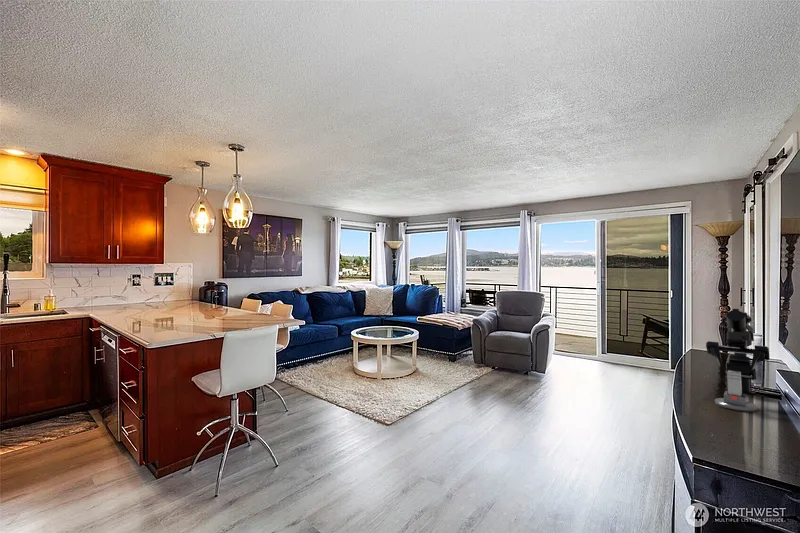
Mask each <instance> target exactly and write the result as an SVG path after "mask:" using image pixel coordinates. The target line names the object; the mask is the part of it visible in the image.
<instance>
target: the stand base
mask: <svg viewBox="0 0 800 533" xmlns="http://www.w3.org/2000/svg"><path fill="white" fill-rule="evenodd" d="M747 395H748V394H742V397H739V396H733V395H728V390H725V391H724V393H723V397H718V398H715V399H714V403H715V404H714V405H716V406H718V407H721V408H723V409H725V410H726V409H727V410H731V411H736V412H743V413H744V412H745V413H754V412H755V413H756V412H758V411H759V408H758V405H756V404H755V403H752V402H749V401H748V396H747Z"/></svg>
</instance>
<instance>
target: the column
mask: <svg viewBox="0 0 800 533" xmlns="http://www.w3.org/2000/svg"><path fill="white" fill-rule="evenodd" d="M726 376H727V378H726V379H727V391H728V395H733V396H739V397H742V385H741V372H737V371H729V370H728V372H727V371H726Z"/></svg>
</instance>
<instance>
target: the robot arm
mask: <svg viewBox="0 0 800 533" xmlns="http://www.w3.org/2000/svg"><path fill="white" fill-rule="evenodd" d="M724 321H725V323H726V324H727V327H728V328H727V329H728V331H727V332H726V345H720V342H719V341H706V342H705V348H706V352H707V354H708V355H711V356H714V357H715V359H716V360H717V362H718V365H719V367H722V364H723V363H722V357H721V355H722V354H721V351H723V352H730V353H732V352H733V353H734V354H730V355H729V358H728V362H726V373H727V372H728V370H729V371H737V372H741V385H742V394H747V395H752V394H756V392H755V391H752V381H756V380H757V372H756V371H757V370H756V366H758V364H760V363H761V362H765V361H768V360H770V348H769V347H768V346H766V345H758V344H757V345H754V348H748V347H750V346H752V344H753V343H752V342H754V341H755V338H754V337H755V336H754V328H753V327H752V326H751V325H750V324H751V322H752V321H753V319H752V317H751V316H750V314H749V315H748V312H745V311H744V312H743V311H740V309H739V308H732V310H729V311H728V312H727V313H725V315H724ZM748 355H752V359H751V358H750V356H748Z"/></svg>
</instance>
